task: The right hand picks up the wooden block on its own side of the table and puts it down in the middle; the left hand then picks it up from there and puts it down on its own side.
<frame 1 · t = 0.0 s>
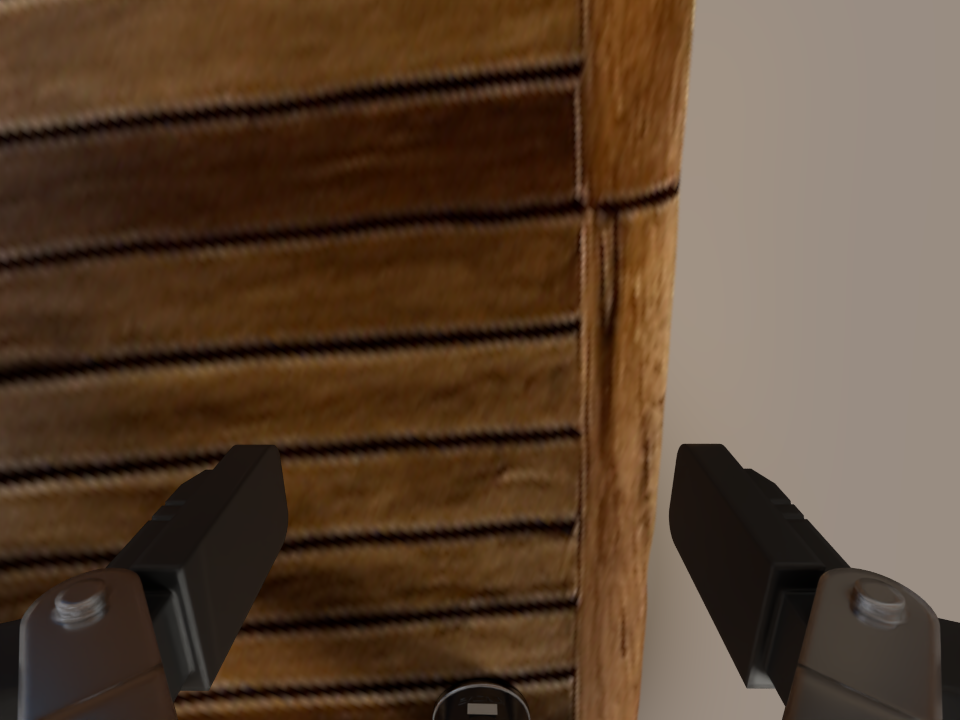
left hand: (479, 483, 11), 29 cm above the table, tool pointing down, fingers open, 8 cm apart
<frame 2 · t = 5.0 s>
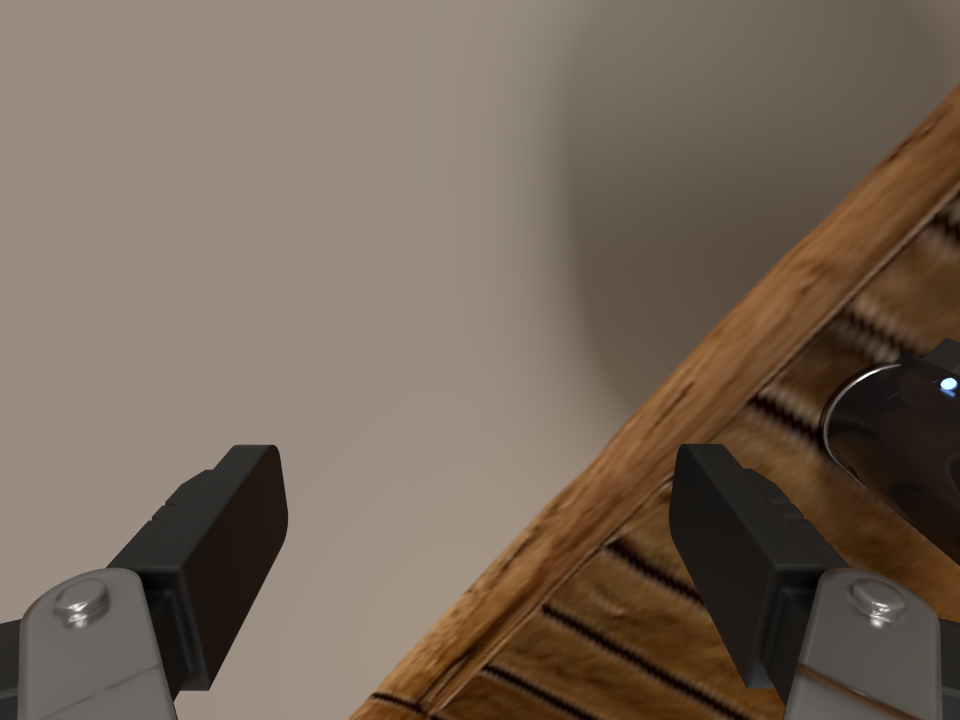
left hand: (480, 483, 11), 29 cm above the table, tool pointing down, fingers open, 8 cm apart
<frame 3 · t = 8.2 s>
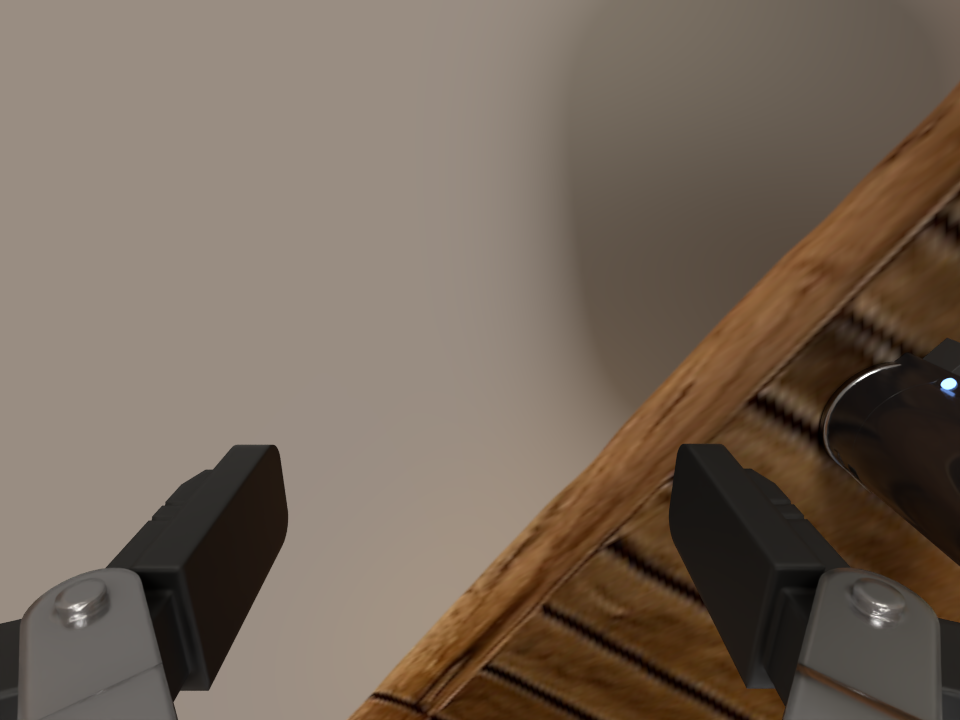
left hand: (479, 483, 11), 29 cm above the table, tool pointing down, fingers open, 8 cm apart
when the right hand's fingers open (6 cm above the table, at t = 11.6 s): block drops 1 cm, on the table.
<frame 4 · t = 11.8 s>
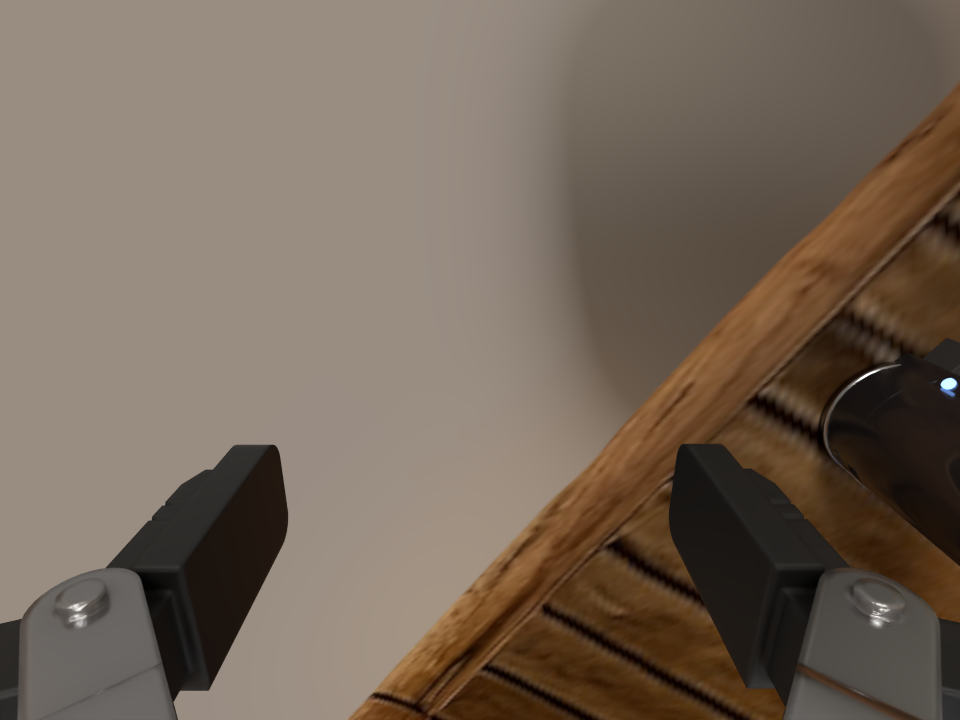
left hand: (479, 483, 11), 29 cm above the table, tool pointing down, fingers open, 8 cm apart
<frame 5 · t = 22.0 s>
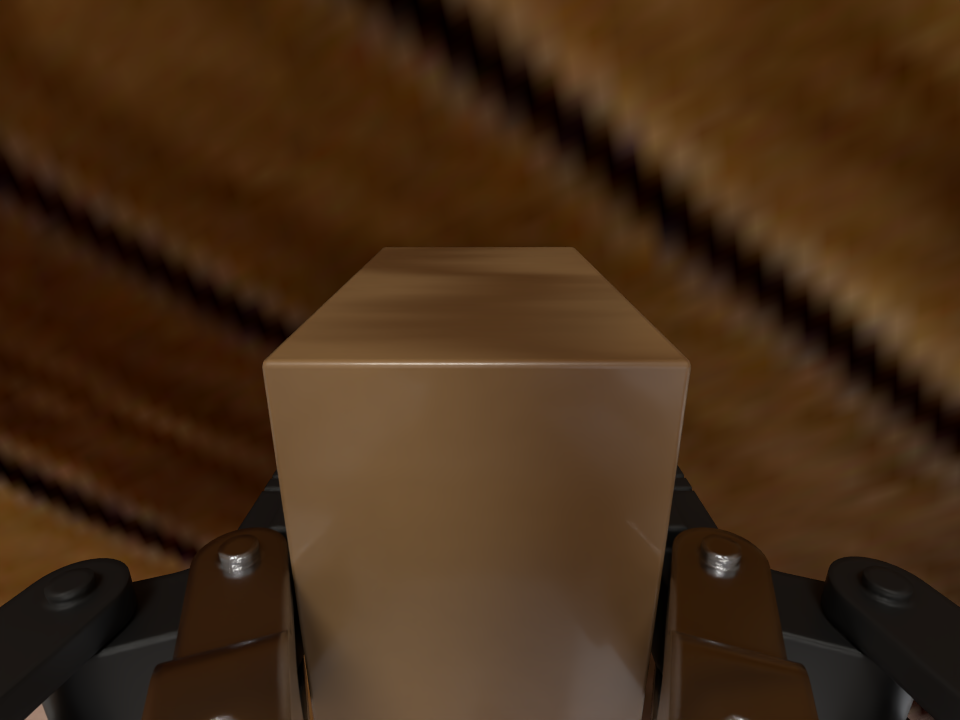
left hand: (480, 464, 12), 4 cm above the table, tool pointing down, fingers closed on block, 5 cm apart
block: (478, 396, 15), on the table, touching left hand
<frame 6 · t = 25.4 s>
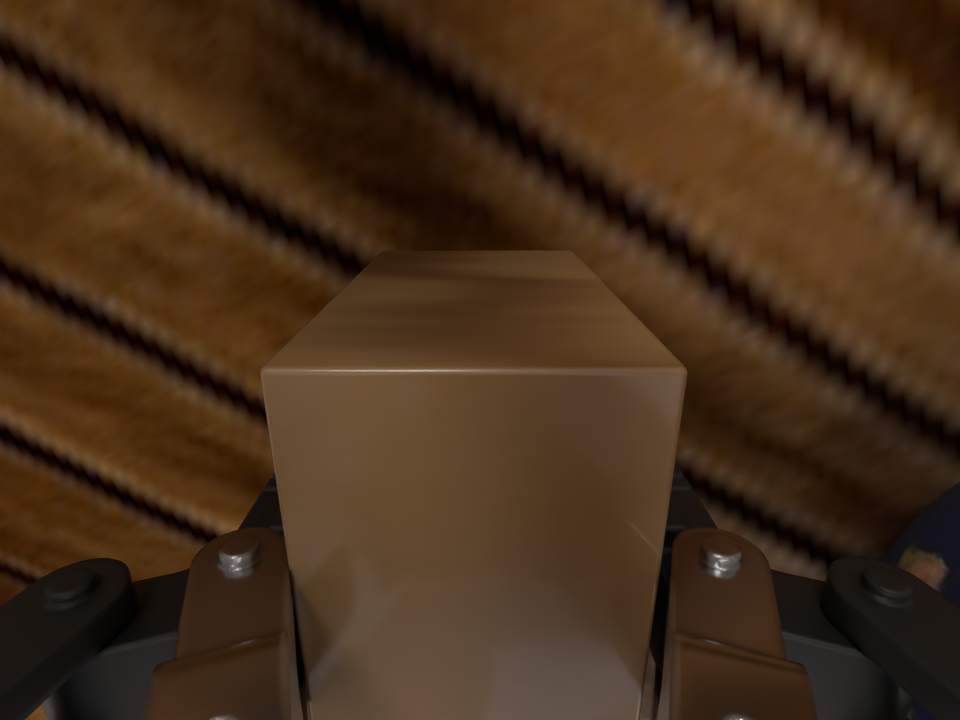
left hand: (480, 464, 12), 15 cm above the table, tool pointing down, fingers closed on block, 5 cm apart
block: (477, 398, 15), point 11 cm above the table, touching left hand
when the left hand's fingers open (5 cm above the table, at t = 29.4 s): block drops 1 cm, on the table.
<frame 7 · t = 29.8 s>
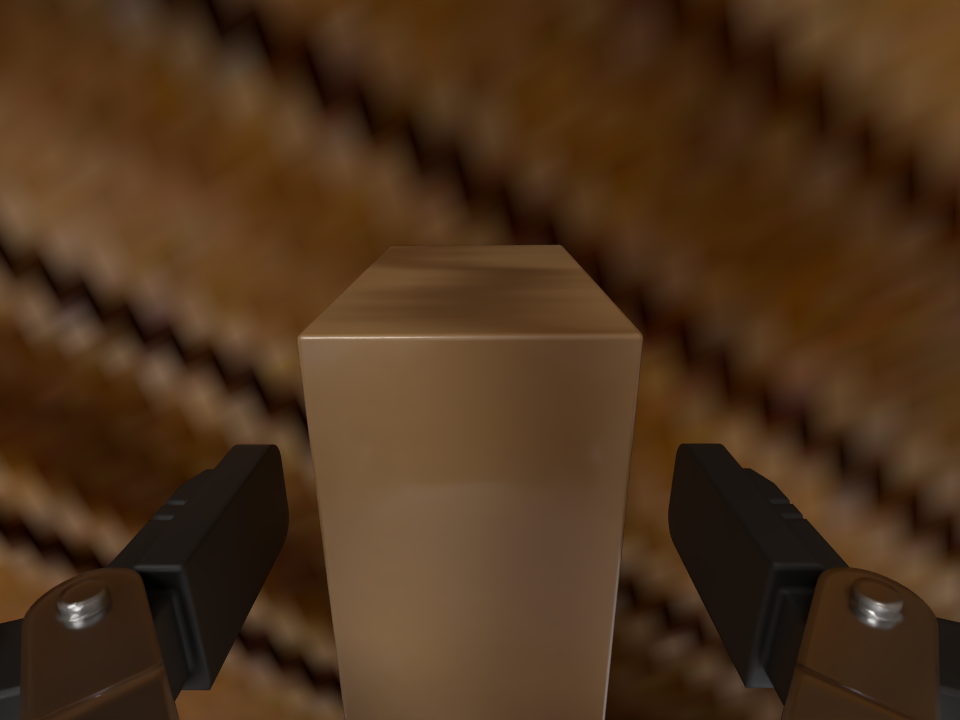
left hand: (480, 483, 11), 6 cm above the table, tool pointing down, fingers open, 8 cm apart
block: (476, 381, 17), on the table
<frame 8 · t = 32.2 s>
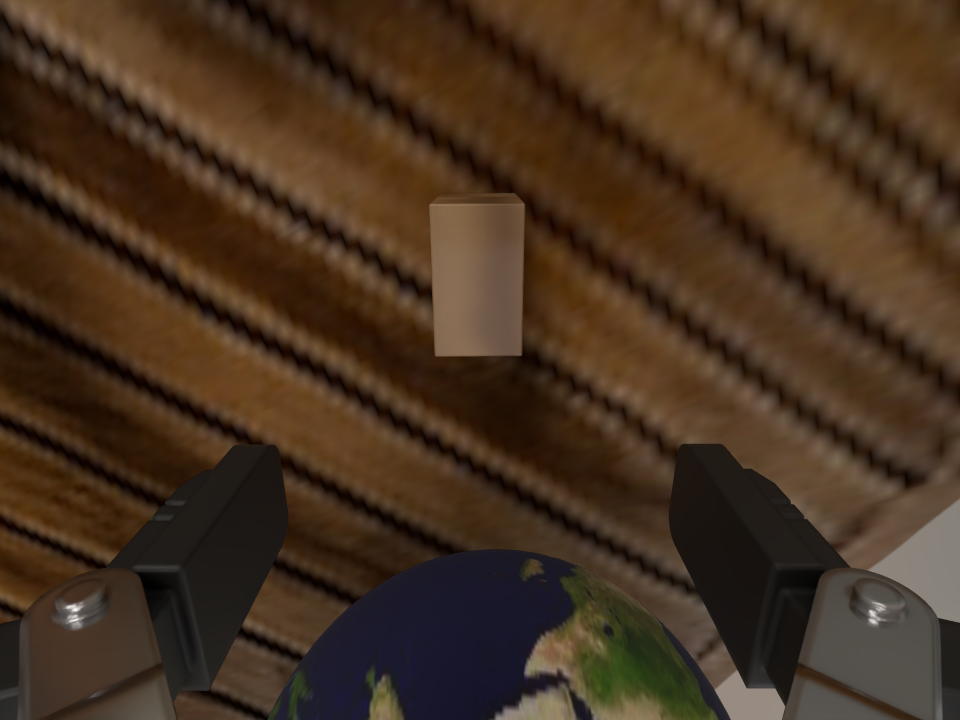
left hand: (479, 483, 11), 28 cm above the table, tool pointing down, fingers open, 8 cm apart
globe: (492, 614, 48), on the table
block: (478, 257, 37), on the table
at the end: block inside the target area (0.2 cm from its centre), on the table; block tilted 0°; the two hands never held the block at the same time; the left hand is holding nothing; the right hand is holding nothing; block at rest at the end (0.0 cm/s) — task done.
